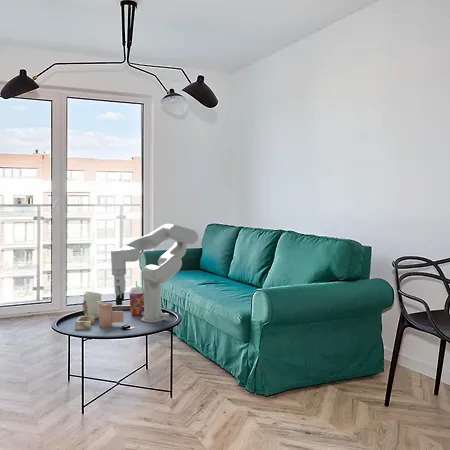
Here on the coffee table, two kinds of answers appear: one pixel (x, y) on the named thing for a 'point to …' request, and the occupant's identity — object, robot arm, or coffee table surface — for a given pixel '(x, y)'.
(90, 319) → the holder
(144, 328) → the coffee table surface
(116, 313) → the peach cylinder
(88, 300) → the pitcher
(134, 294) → the smoothie
